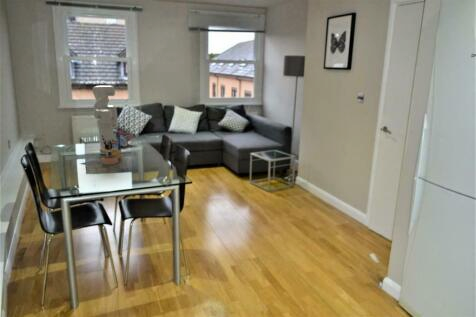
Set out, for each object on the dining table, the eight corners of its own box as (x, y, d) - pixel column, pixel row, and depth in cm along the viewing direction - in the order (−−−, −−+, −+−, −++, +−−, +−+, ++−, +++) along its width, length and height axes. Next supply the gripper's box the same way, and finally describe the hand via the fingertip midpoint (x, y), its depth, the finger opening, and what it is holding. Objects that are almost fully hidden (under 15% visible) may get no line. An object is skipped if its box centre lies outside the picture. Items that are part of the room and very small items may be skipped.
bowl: (110, 160, 309) (109, 154, 307) (120, 162, 303) (120, 156, 302) (98, 163, 298) (98, 157, 297) (109, 165, 293) (109, 159, 292)
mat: (92, 160, 308) (92, 160, 308) (103, 162, 302) (103, 162, 302) (79, 164, 297) (79, 163, 297) (90, 166, 291) (90, 165, 291)
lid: (109, 148, 307) (108, 140, 306) (121, 149, 301) (121, 142, 300) (95, 151, 295) (95, 143, 294) (108, 152, 289) (107, 145, 287)
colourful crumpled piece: (104, 144, 355) (112, 128, 352) (108, 139, 376) (116, 124, 373) (123, 154, 360) (132, 138, 358) (126, 148, 381) (134, 133, 378)
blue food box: (106, 158, 317) (104, 132, 312) (119, 156, 323) (117, 131, 318) (108, 159, 312) (106, 133, 307) (121, 158, 317) (119, 132, 312)
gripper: (111, 124, 303) (113, 146, 307) (95, 127, 288) (97, 150, 292) (118, 125, 299) (119, 147, 303) (102, 127, 285) (104, 151, 289)
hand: (108, 148), depth 298 cm, fingers closed on lid, 3 cm apart
